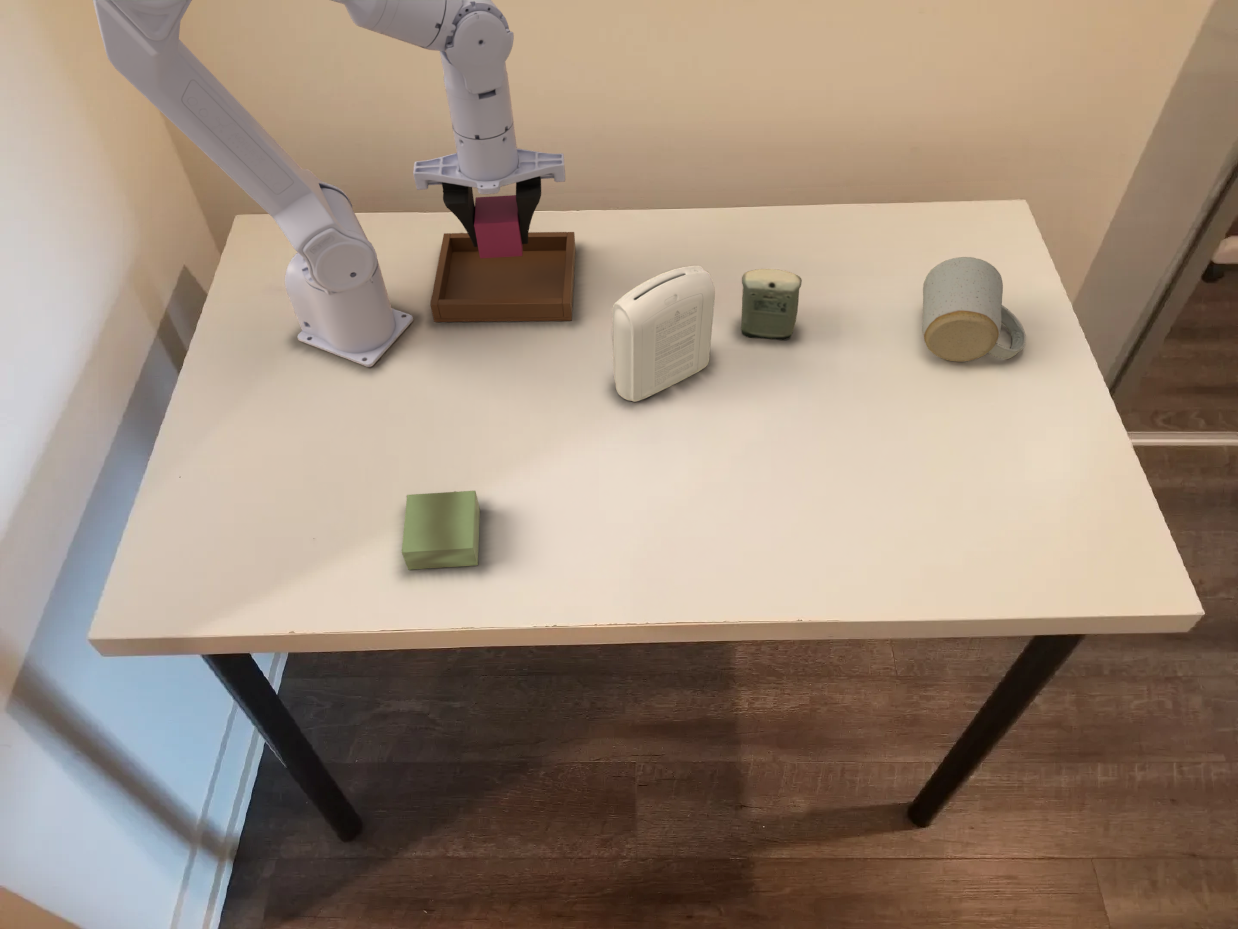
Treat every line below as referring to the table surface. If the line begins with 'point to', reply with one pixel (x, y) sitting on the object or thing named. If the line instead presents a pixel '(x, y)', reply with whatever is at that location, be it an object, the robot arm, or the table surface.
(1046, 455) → the table surface
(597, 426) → the table surface
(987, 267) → the ceramic mug
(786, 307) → the grey-green labelled box
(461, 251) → the tray
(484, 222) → the pink block
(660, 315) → the photo printer
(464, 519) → the base slab
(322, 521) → the table surface
